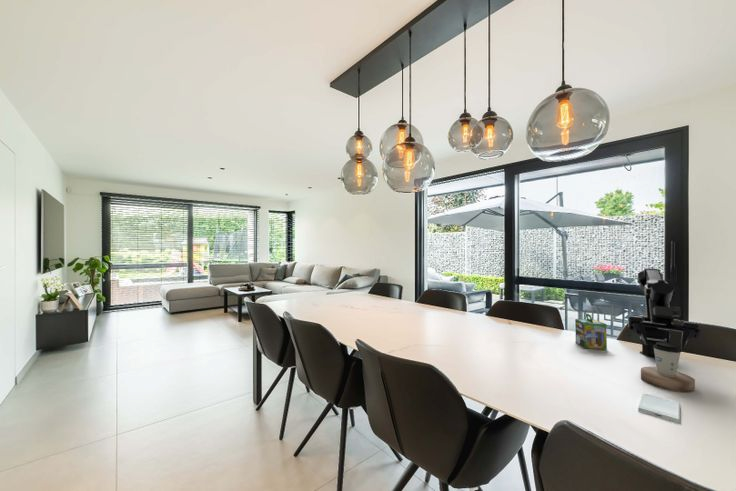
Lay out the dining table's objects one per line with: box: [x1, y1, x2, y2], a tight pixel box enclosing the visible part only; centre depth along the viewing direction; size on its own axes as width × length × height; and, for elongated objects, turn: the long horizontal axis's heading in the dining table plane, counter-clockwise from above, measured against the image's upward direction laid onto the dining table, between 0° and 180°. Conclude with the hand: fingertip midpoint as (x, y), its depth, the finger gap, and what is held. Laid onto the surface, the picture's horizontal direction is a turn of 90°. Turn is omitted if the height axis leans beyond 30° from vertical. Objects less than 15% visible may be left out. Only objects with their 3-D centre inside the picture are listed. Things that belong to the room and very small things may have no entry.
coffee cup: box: [653, 342, 682, 377], centre depth 104 cm, size 7×7×10 cm
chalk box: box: [574, 312, 608, 350], centre depth 141 cm, size 9×9×15 cm
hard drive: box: [637, 392, 681, 424], centre depth 87 cm, size 2×8×12 cm
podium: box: [640, 366, 696, 393], centre depth 103 cm, size 13×13×3 cm
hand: (664, 347), depth 108 cm, fingers open, 9 cm apart
